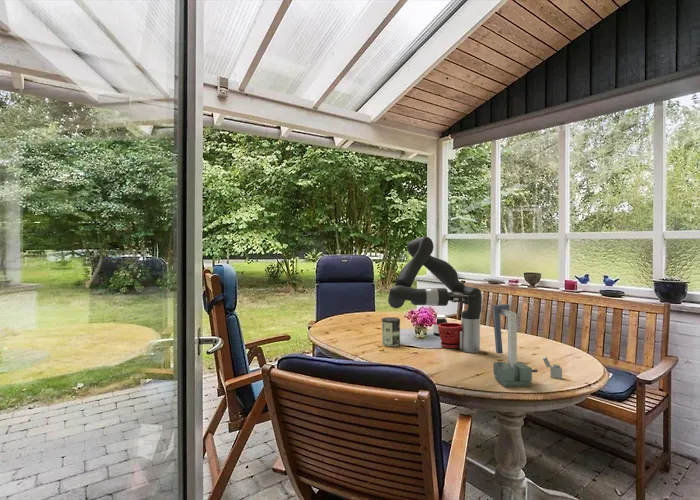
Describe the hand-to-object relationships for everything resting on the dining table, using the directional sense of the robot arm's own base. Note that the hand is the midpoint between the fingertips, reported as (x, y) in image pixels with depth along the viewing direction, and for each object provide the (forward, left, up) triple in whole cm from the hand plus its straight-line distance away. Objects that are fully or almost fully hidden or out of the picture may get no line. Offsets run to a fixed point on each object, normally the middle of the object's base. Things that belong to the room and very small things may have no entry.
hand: (473, 296), depth 152 cm
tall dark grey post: (+11, +9, -24) cm, 28 cm away
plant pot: (-24, +35, -33) cm, 53 cm away
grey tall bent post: (+14, +5, -33) cm, 36 cm away
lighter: (+27, +17, -33) cm, 46 cm away
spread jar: (-38, +56, -33) cm, 75 cm away
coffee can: (-53, +20, -33) cm, 65 cm away
